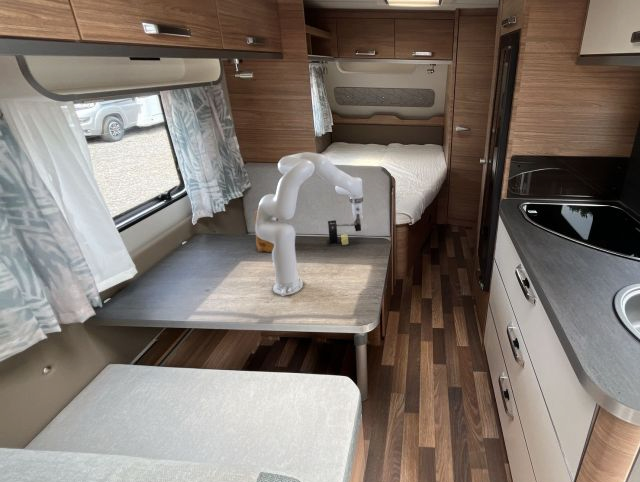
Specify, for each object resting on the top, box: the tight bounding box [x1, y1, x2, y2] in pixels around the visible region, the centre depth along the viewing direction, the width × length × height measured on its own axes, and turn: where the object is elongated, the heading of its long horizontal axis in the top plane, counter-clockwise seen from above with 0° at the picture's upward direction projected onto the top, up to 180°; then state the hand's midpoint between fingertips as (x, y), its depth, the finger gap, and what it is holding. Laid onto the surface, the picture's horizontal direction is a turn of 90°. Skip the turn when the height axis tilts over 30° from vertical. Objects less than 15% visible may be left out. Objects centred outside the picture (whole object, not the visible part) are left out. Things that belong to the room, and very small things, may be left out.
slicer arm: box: [330, 222, 356, 227], centre depth 189 cm, size 17×3×3 cm, turn 106°
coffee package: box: [254, 210, 279, 253], centre depth 180 cm, size 10×12×22 cm
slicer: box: [327, 219, 339, 245], centre depth 189 cm, size 5×6×13 cm
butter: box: [340, 233, 349, 246], centre depth 190 cm, size 7×4×4 cm, turn 16°
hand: (357, 229), depth 192 cm, fingers closed on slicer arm, 3 cm apart
